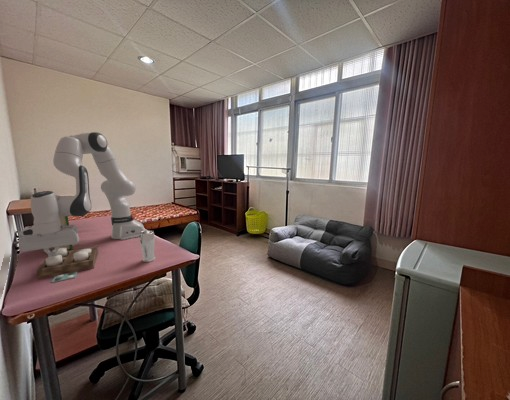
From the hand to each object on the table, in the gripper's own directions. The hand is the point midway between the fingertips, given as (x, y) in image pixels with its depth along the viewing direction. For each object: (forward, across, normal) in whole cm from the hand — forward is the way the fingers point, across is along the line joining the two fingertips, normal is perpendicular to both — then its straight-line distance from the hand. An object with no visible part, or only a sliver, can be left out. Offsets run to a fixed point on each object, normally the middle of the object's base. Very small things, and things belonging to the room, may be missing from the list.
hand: (53, 256), depth 102 cm
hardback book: (+8, +5, -36) cm, 37 cm away
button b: (+4, 0, -10) cm, 11 cm away
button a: (+6, -10, -10) cm, 16 cm away
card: (+8, -5, +9) cm, 13 cm away
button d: (+4, 0, 0) cm, 4 cm away
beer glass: (+8, -39, +8) cm, 41 cm away
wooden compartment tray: (+8, -5, -5) cm, 10 cm away
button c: (+4, -10, 0) cm, 11 cm away
